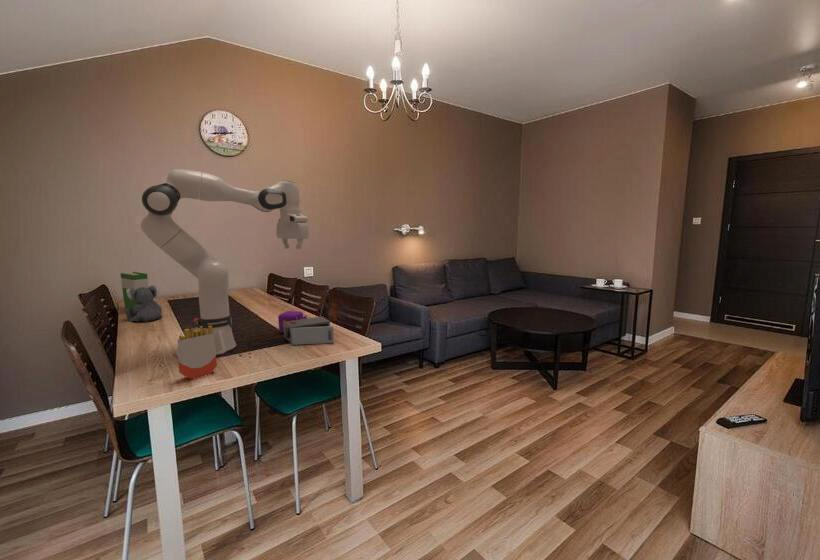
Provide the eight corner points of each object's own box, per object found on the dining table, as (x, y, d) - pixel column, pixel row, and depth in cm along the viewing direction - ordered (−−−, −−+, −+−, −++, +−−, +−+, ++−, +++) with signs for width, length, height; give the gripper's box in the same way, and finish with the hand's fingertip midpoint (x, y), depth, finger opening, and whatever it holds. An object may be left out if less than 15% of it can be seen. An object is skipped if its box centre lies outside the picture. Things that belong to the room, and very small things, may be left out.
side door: (290, 346, 161) (289, 329, 160) (291, 344, 163) (290, 327, 162) (333, 343, 164) (332, 327, 162) (333, 342, 166) (333, 325, 165)
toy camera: (305, 334, 179) (303, 314, 177) (277, 334, 179) (275, 314, 178) (311, 328, 189) (310, 309, 188) (285, 328, 190) (283, 309, 188)
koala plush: (161, 314, 222) (157, 282, 219) (168, 319, 210) (165, 285, 207) (125, 319, 210) (121, 286, 207) (131, 325, 198) (127, 289, 195)
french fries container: (179, 378, 128) (174, 328, 125) (212, 369, 136) (207, 322, 134) (184, 382, 125) (179, 331, 122) (217, 372, 133) (213, 324, 131)
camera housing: (289, 345, 163) (288, 326, 162) (282, 338, 172) (281, 320, 171) (330, 337, 173) (329, 319, 172) (322, 331, 182) (321, 315, 181)
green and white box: (125, 311, 231) (120, 273, 227) (138, 308, 237) (134, 271, 233) (137, 314, 221) (132, 275, 218) (151, 312, 228) (147, 273, 224)
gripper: (271, 218, 169) (274, 248, 172) (297, 217, 157) (300, 250, 159) (283, 218, 174) (286, 247, 176) (310, 217, 161) (312, 249, 164)
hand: (292, 248), depth 167 cm, fingers open, 8 cm apart
